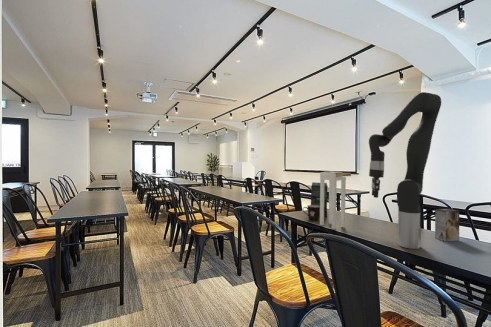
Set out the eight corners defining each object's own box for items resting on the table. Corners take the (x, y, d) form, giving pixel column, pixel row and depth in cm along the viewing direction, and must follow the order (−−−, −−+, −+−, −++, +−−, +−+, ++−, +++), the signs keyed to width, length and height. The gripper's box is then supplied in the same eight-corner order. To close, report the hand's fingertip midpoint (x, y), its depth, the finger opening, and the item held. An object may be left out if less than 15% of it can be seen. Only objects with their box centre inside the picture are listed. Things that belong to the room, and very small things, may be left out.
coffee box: (447, 237, 142) (448, 208, 142) (459, 240, 136) (460, 210, 136) (434, 238, 140) (434, 209, 140) (445, 241, 134) (446, 211, 134)
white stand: (345, 227, 160) (345, 173, 160) (333, 229, 156) (334, 173, 155) (330, 223, 171) (331, 172, 170) (319, 224, 166) (320, 172, 166)
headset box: (327, 217, 187) (327, 182, 186) (310, 216, 190) (311, 182, 190) (326, 211, 208) (326, 180, 208) (311, 210, 212) (311, 180, 211)
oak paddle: (355, 176, 166) (355, 171, 166) (334, 177, 157) (334, 172, 157) (343, 175, 174) (343, 171, 174) (323, 176, 165) (323, 171, 165)
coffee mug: (322, 220, 178) (322, 206, 178) (314, 222, 173) (314, 207, 173) (309, 217, 187) (309, 204, 187) (301, 218, 183) (301, 205, 182)
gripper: (386, 169, 140) (384, 199, 140) (381, 168, 153) (380, 195, 154) (371, 168, 142) (369, 197, 143) (368, 167, 156) (366, 194, 156)
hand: (374, 196), depth 148 cm, fingers open, 8 cm apart
